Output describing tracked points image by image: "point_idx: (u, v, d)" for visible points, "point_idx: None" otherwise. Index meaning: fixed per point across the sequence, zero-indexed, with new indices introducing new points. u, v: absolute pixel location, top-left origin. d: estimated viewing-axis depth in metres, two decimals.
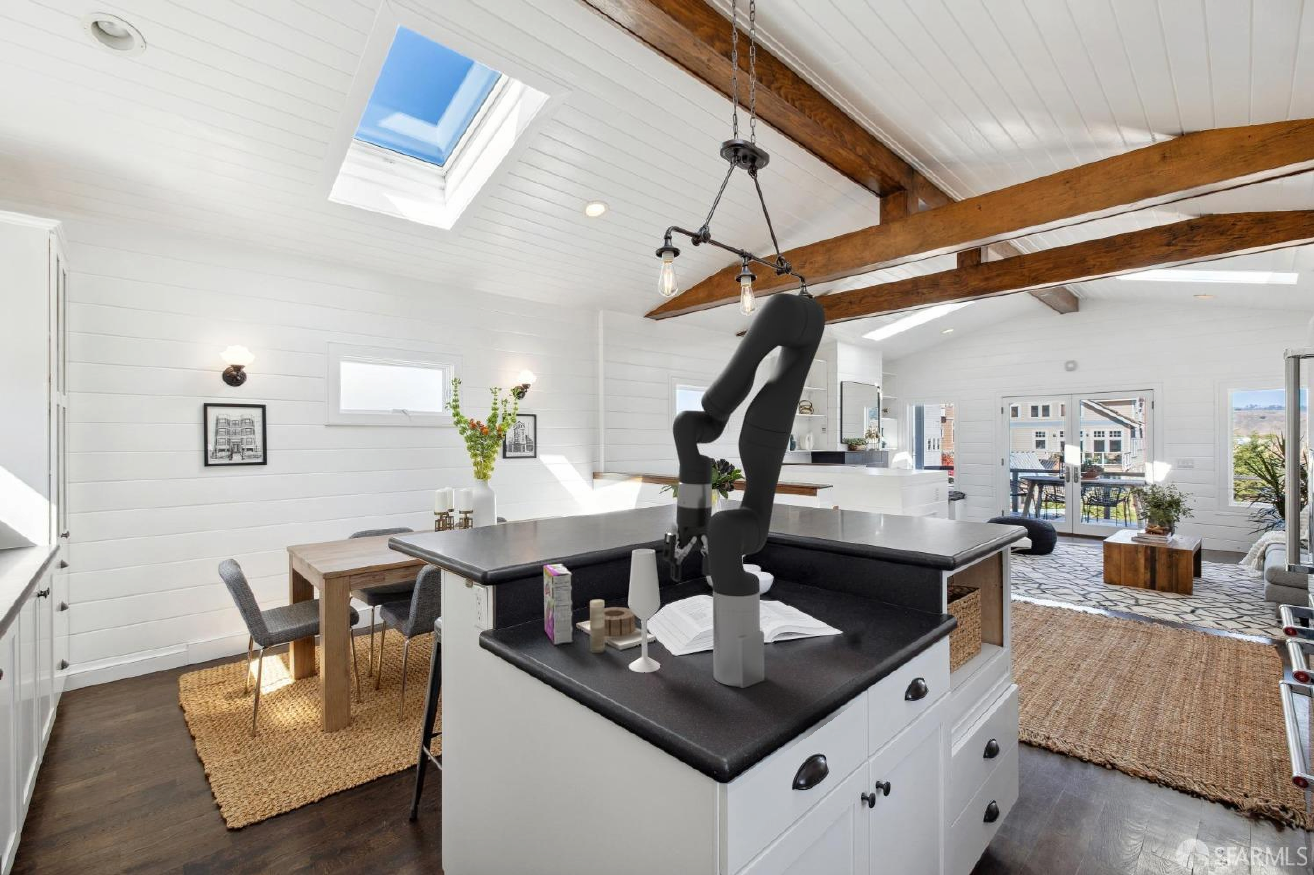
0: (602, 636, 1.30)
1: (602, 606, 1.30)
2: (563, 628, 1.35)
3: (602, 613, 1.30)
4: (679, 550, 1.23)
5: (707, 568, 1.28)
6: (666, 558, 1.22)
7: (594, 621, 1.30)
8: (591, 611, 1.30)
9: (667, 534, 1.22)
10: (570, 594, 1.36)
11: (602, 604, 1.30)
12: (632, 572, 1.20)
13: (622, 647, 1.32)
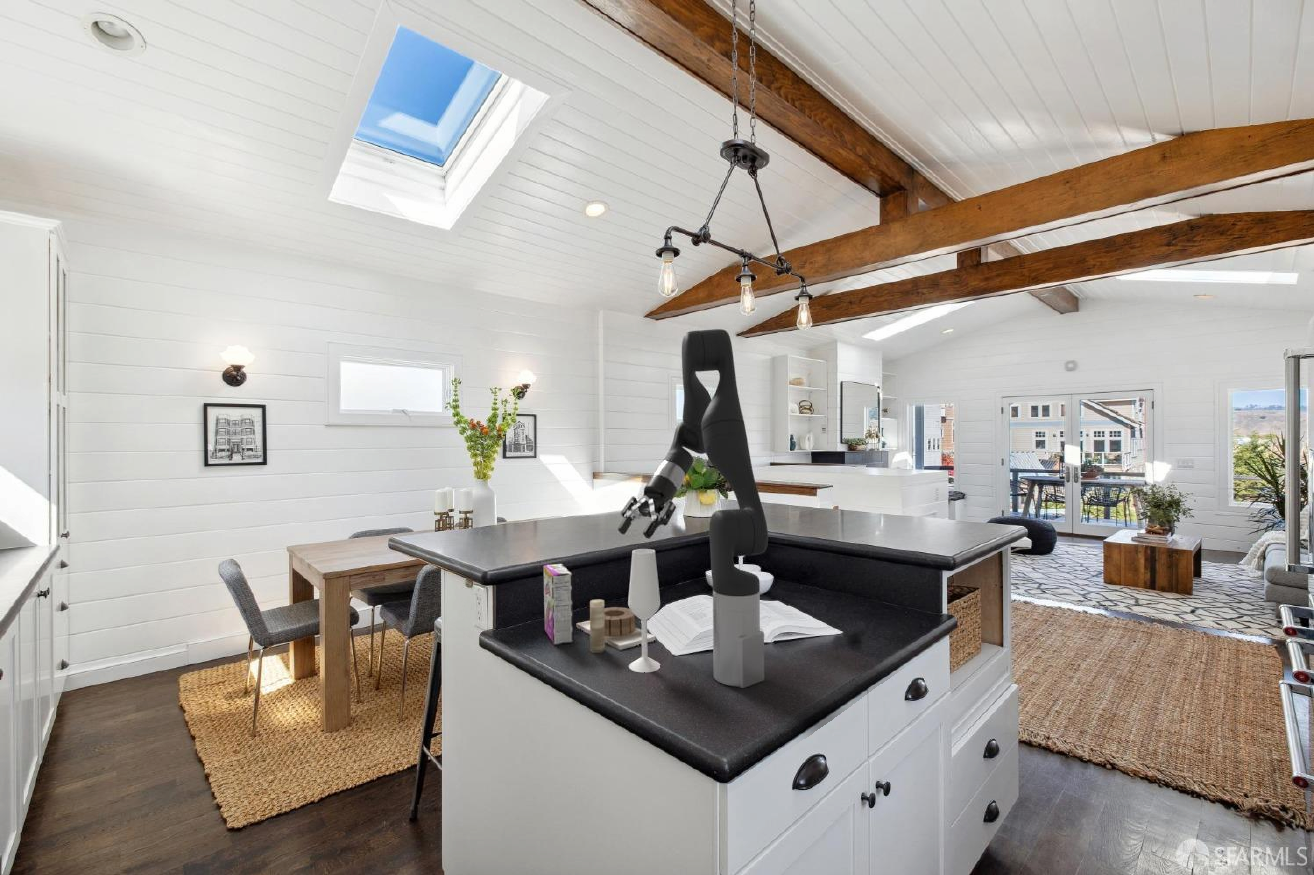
0: (602, 636, 1.30)
1: (602, 606, 1.30)
2: (563, 628, 1.35)
3: (602, 613, 1.30)
4: None
5: None
6: None
7: (594, 621, 1.30)
8: (591, 611, 1.30)
9: None
10: (570, 594, 1.36)
11: (602, 604, 1.30)
12: (632, 572, 1.20)
13: (622, 647, 1.32)
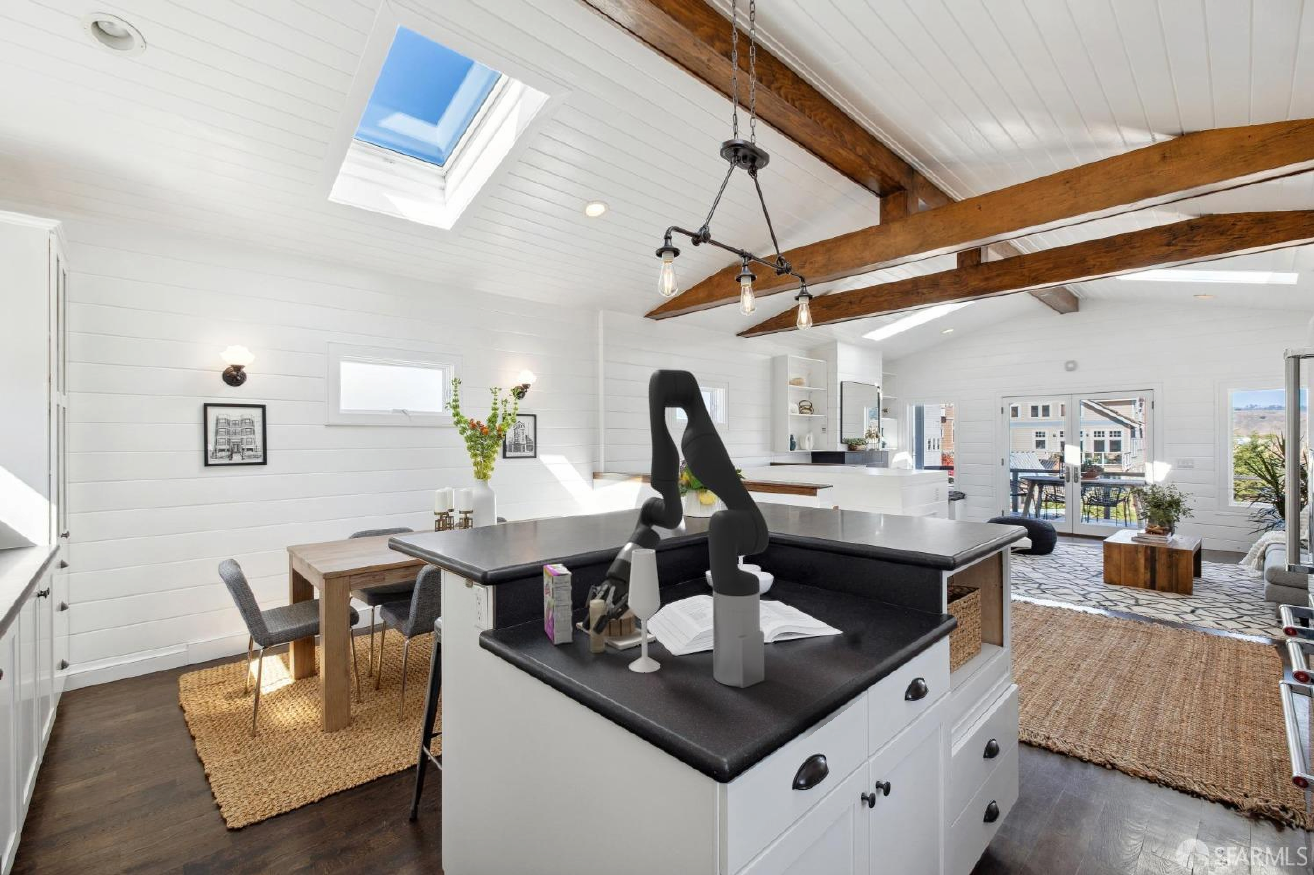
0: (602, 636, 1.30)
1: (602, 606, 1.30)
2: (563, 628, 1.35)
3: (602, 613, 1.30)
4: None
5: None
6: None
7: (594, 622, 1.30)
8: (591, 611, 1.30)
9: None
10: (570, 594, 1.36)
11: (602, 604, 1.30)
12: (632, 572, 1.20)
13: (622, 647, 1.32)
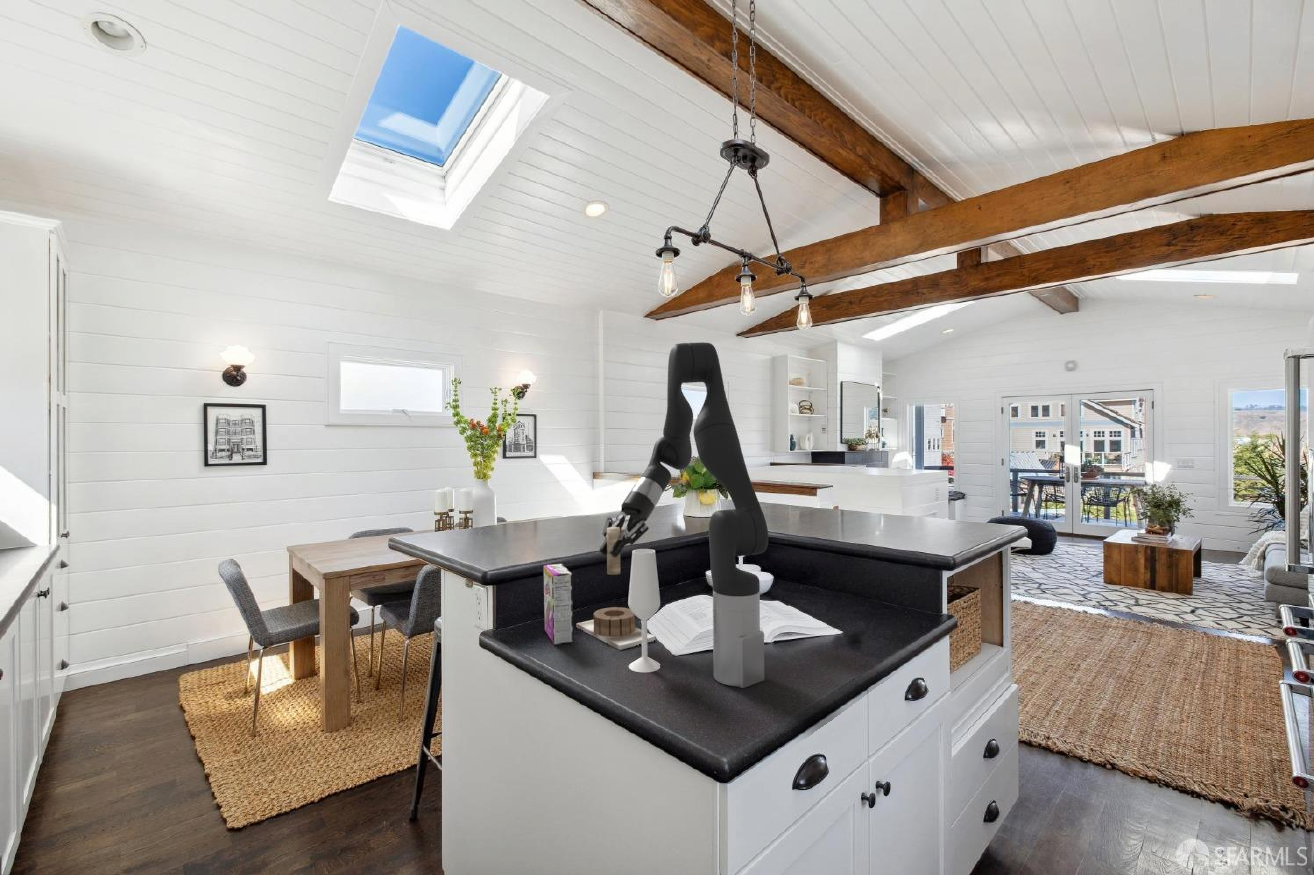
0: (618, 559, 1.41)
1: (618, 532, 1.41)
2: (563, 628, 1.35)
3: (618, 538, 1.41)
4: None
5: None
6: None
7: (611, 546, 1.41)
8: (608, 536, 1.41)
9: None
10: (570, 594, 1.36)
11: (618, 530, 1.41)
12: (632, 572, 1.20)
13: (622, 647, 1.32)
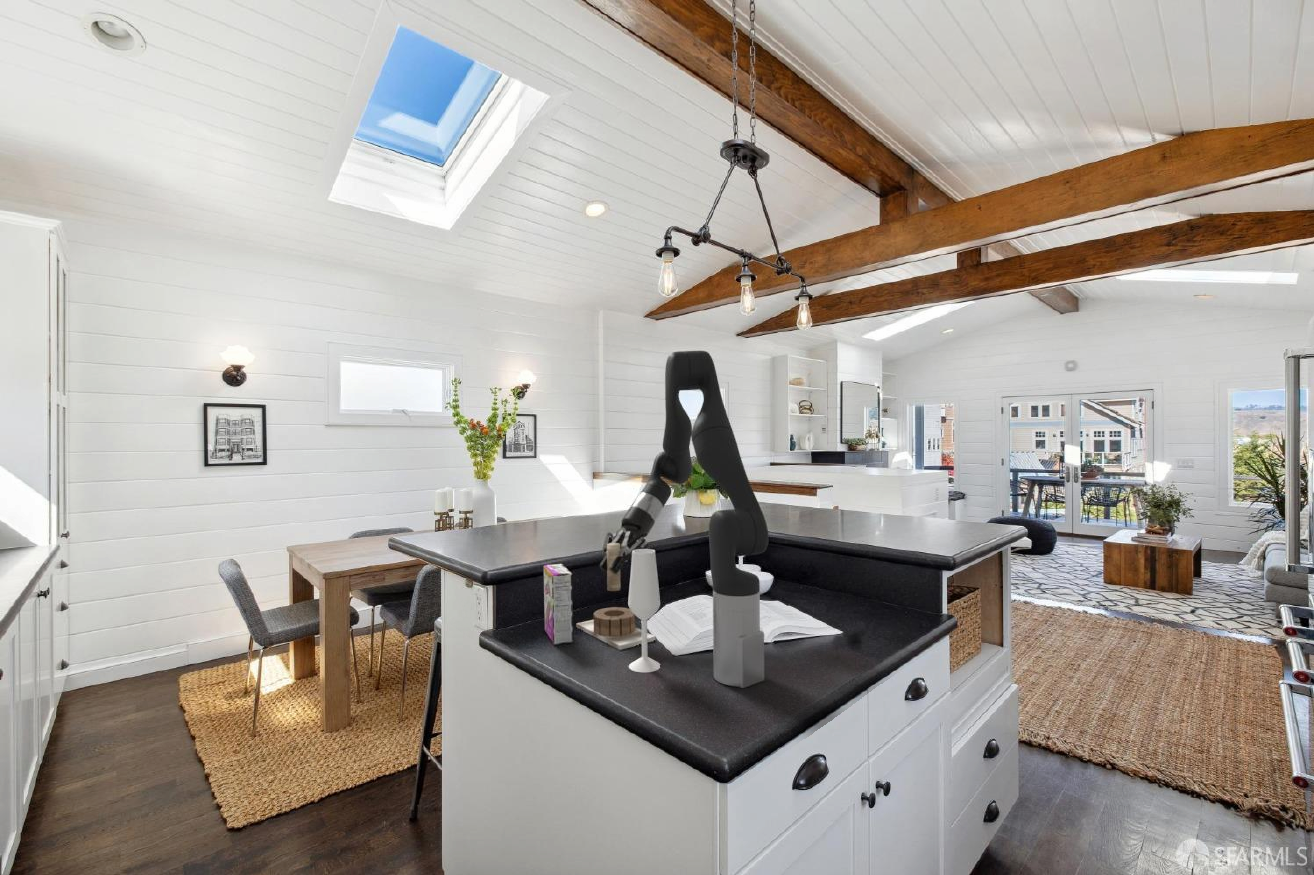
0: (618, 576, 1.41)
1: (618, 548, 1.41)
2: (563, 628, 1.35)
3: (618, 555, 1.41)
4: None
5: None
6: None
7: (611, 562, 1.41)
8: (608, 553, 1.41)
9: None
10: (570, 594, 1.36)
11: (618, 546, 1.41)
12: (632, 572, 1.20)
13: (622, 647, 1.32)
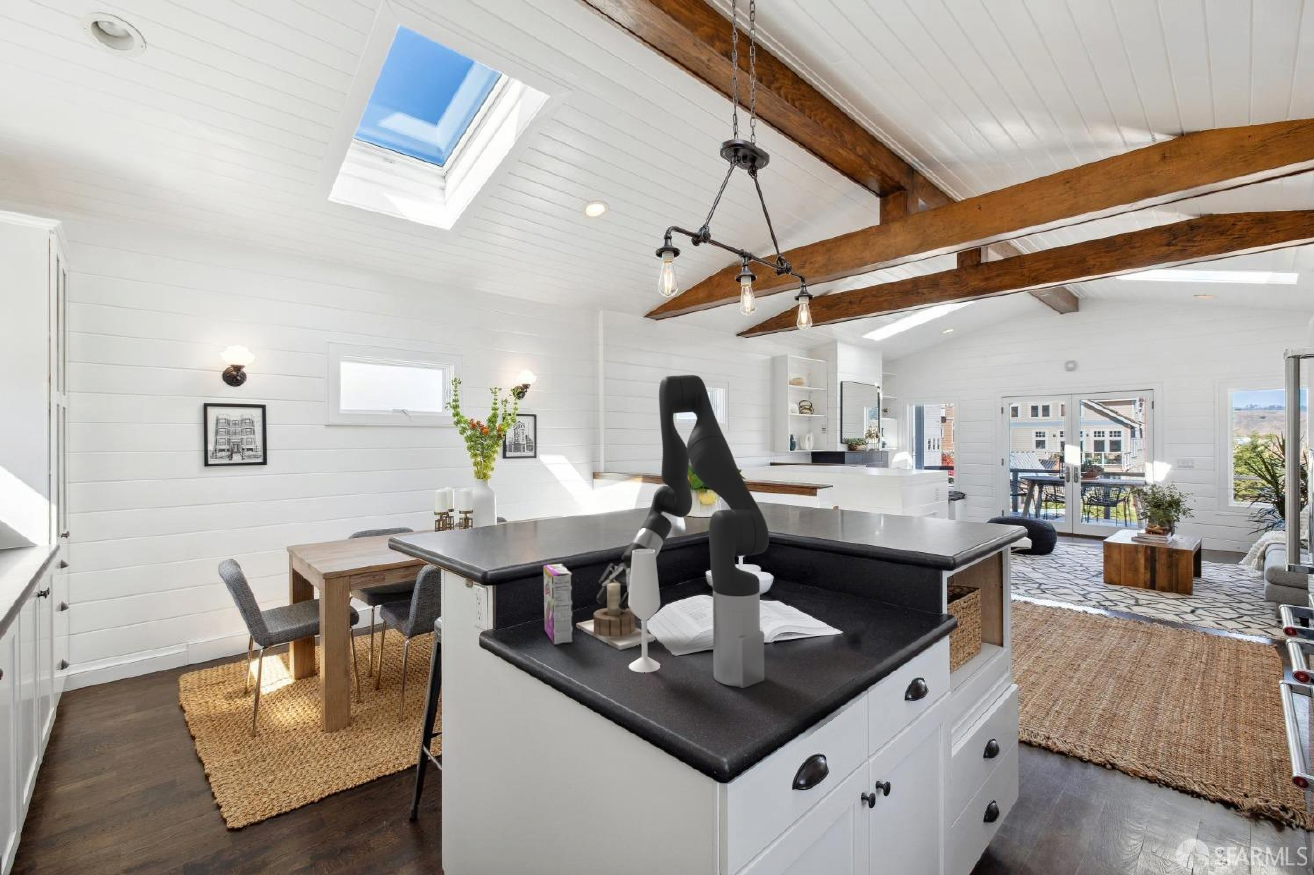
0: None
1: (618, 589, 1.41)
2: (563, 628, 1.35)
3: (618, 595, 1.41)
4: None
5: None
6: None
7: (611, 603, 1.41)
8: (608, 593, 1.41)
9: None
10: (570, 594, 1.36)
11: (618, 587, 1.41)
12: (632, 572, 1.20)
13: (622, 647, 1.32)
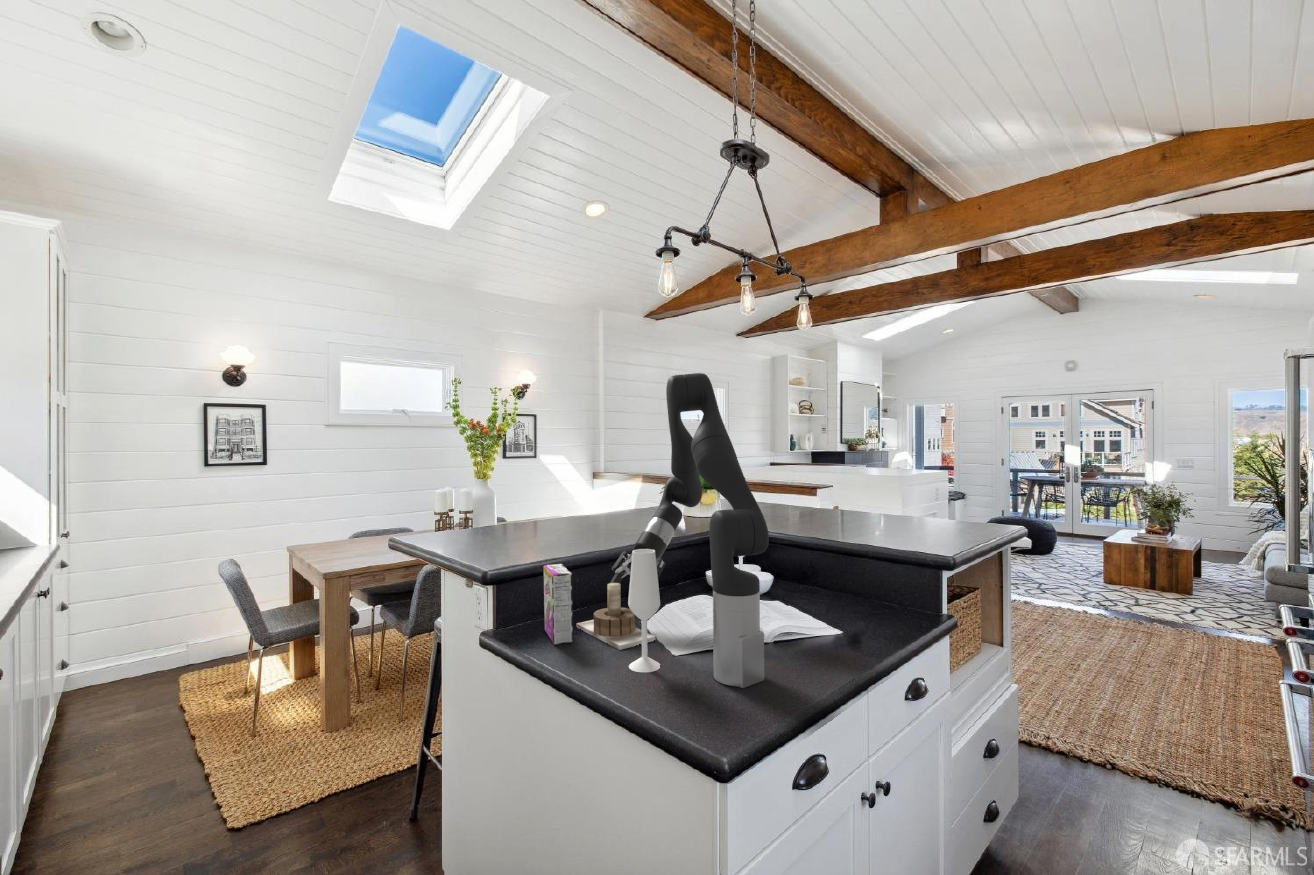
0: None
1: (618, 589, 1.41)
2: (563, 628, 1.35)
3: (618, 595, 1.41)
4: None
5: None
6: None
7: (611, 603, 1.41)
8: (608, 593, 1.41)
9: None
10: (570, 594, 1.36)
11: (618, 587, 1.41)
12: (632, 572, 1.20)
13: (622, 647, 1.32)
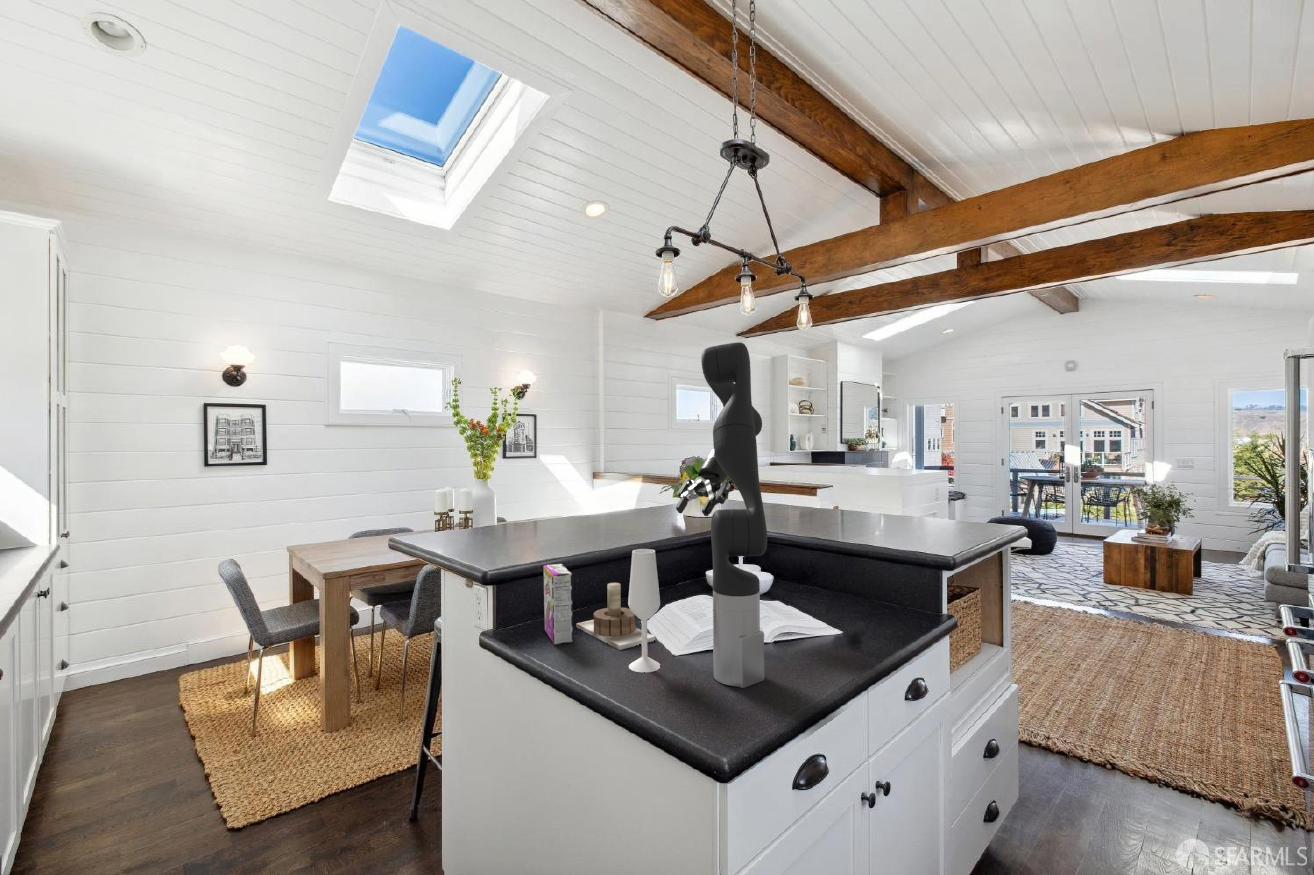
0: None
1: (618, 588, 1.41)
2: (563, 628, 1.35)
3: (618, 595, 1.41)
4: None
5: None
6: None
7: (611, 603, 1.41)
8: (608, 593, 1.41)
9: None
10: (570, 594, 1.36)
11: (618, 587, 1.41)
12: (632, 572, 1.20)
13: (622, 647, 1.32)
